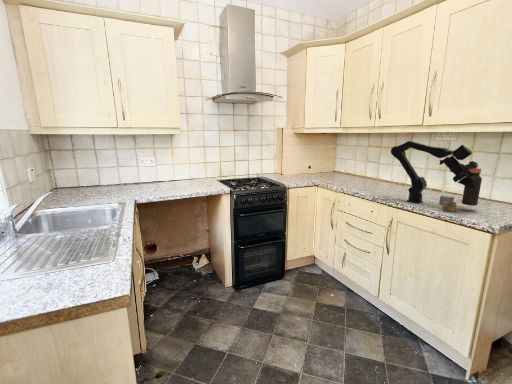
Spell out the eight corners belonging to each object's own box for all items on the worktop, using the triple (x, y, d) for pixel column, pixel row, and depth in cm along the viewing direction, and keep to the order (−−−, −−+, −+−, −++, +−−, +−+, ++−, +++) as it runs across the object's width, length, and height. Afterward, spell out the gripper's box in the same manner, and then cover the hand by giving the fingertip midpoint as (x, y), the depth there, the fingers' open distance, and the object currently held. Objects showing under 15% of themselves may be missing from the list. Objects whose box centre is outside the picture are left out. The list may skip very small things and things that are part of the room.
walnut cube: (442, 211, 148) (443, 202, 147) (444, 209, 152) (445, 200, 151) (453, 212, 145) (454, 204, 144) (455, 211, 148) (456, 202, 147)
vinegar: (471, 202, 151) (477, 167, 146) (480, 205, 144) (487, 169, 140) (458, 202, 151) (464, 167, 147) (467, 205, 144) (473, 169, 140)
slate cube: (439, 204, 163) (440, 196, 162) (444, 203, 165) (445, 195, 164) (447, 206, 159) (448, 197, 158) (453, 205, 160) (454, 197, 159)
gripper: (463, 157, 139) (487, 180, 133) (472, 155, 151) (494, 176, 145) (443, 170, 147) (465, 193, 141) (454, 167, 158) (474, 188, 152)
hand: (475, 187), depth 144 cm, fingers closed on vinegar, 6 cm apart
